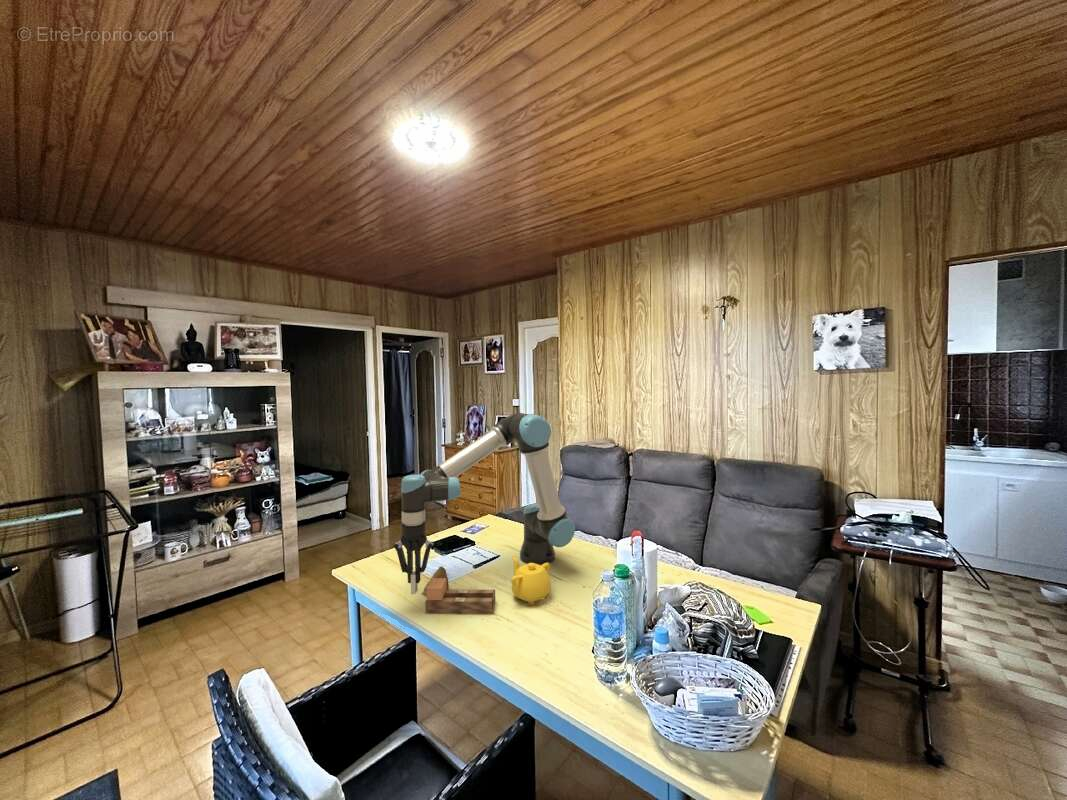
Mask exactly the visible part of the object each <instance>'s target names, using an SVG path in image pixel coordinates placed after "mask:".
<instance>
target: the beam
mask: <svg viewBox="0 0 1067 800" xmlns="http://www.w3.org/2000/svg"><path fill="white" fill-rule="evenodd" d="M495 604H496V589H495V588H493V589H467V588H462V589H461V588H459V589H449V590H446V592H445V594H444V598H443V599H442V600H427V599H425V606H424V607H425V614H427V615H435V614H436V615H438V614H439V615H440V614H441V615H445V614H446V615H448V614H449V615H450V614H451V615H453V614H454V615H455V614H456V615H457V614H458V615H461V614H463V615H468V614H469V615H472V614H473V615H479V614H480V615H481V614H483V615H484V614H486V615H487V614H489V615H490V614H493V615H494V610H495V606H496V605H495Z"/></svg>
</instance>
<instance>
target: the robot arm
mask: <svg viewBox="0 0 1067 800" xmlns="http://www.w3.org/2000/svg"><path fill="white" fill-rule="evenodd" d="M551 435H552V430H551V426H550V424H549V421H548V420H547V419H546V418H544V417H543V416H540V415H538V414H534V413H532V414H531V413H522V412H516V413H513V414H510V415H509V416H506V417H505V418H503V419H501V420H500V421H498V422H497V423H495V424H494V425H493V426H491V427H490V431H487V432H486V433H485V434H483V435H482V436H481V437H479V438H477V439H476V440H475V441H473V442H472V443H470V444H468V445H467V446H466V447H464V448H463V449H461V450H460V451H458V452H457V453H455V454H453V455H452V456H451V457H449V458H448V459H446V460H445V461H443V462H441V463H440V464H438V465H437V466H435V467H433V468H432V469H426V470H424V471H422V472H420V474H409V475H406V476H404V477H402V479H401V485H400V486H401V489H400V494H401V495H400V496H401V497H400V498H401V537H400V540H399V541H396V542H395V543H394V544H393V548H394V549H395V551H396V553H397V557H398V560H399V565H400V570H401V572H402V573H406V574H407V583H408V584H410V595H416V594H417V592H418V587H419V586H418V584H420V581H421V579H422V578H421V573H424V572H425V571H426V568H427V566H428V561H429V557H430V553H431V550H432V549H431V548H432V547H433V546H434V542H433V541H430V540H428V539H427V538H428V537H427V535H426V522H425V521H426V504H429V503H430V504H431V503H437V502H443V501H451V500H455V499H458V498H459V497H460V495H461V488H462V487H461V483H460V480H459V478H458V476H460V475H462V474H463V473H465V472H466V471H468V470H469V469H471V468H472V467H474V465H476V464H478V463H479V462H481V461H482V460H483V459H485V458H486V457H488V456H489V455H491V454H493V452H496V450H499V448H501V447H503V448H505V447H507V446H508V445H510V444H512V443H517V446H518V449H519V452H520V454H522V455H523V456H524V457H525V460H526V464H527V465H526V466H527V469H528V473H529V476H530V481H531V483H532V486H533V488H532V489H533V491H534V494H535V495H534V496H535V499H536V503H528V504H527V505H525V507H524V509H523V542H522V545H521V548H520V551H519V559H520V560H521V561H522V562H523V563H526V564H528V563H535V564H538V565H542V564H544V563H549V564H550V563H552V562H553V561H554V560H555V559H556V551H555V548H563V547H566V546H567V545H569V544H570V542H571V541H572V540H573V538H574V536H575V533H576V527H575V524H574V522H573V521H572V520H571V519H570V518H568V516H567V511H566V508H565V506H563V505H561V503H560V499H559V494H558V490H557V487H556V483H555V479H554V474H553V471H552V467H551V464H550V460H549V459H550V458H549V455H548V451H547V450H548V448H549V447H550V442H549V441H550V437H551ZM424 545H425V551H424V555H423V559H422V558H421V554H422V553H421V550H422V548H423V547H424ZM403 547H404V548H405V550H406V556H405V552H404V548H403ZM421 559H422V561H421ZM421 562H422V563H421Z"/></svg>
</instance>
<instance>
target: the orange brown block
mask: <svg viewBox="0 0 1067 800" xmlns="http://www.w3.org/2000/svg"><path fill="white" fill-rule="evenodd" d="M431 578H432V577H431ZM431 578H430V580H431V581H430V580H429V581H430V583H429V584H428V586H427V596H426V600H442V599H443V598H444V594H445V592H446V578H432V579H431Z"/></svg>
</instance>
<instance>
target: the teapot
mask: <svg viewBox="0 0 1067 800" xmlns="http://www.w3.org/2000/svg"><path fill="white" fill-rule="evenodd" d="M511 559H512V560H513V576H512V577H511V580H510V581H511V591H512V593H513V594H514V595H515V597H517V598H516V599H518V600H522V601H525V602H527V605H529V606H533V604H534V603H535V602H536V601H540V600H543V599H542V598H545V599H547V595H548V594H549V593H550V592H551V589H552V583H551V579H550V576H549V573H550V570H551V569H550V568H551V564H550V563H544V564H540V565H538V564H535V563H526V564H523V565H521V566H520V563H519V561H518V558H517V557H515V556H511ZM534 605H535V604H534Z"/></svg>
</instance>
